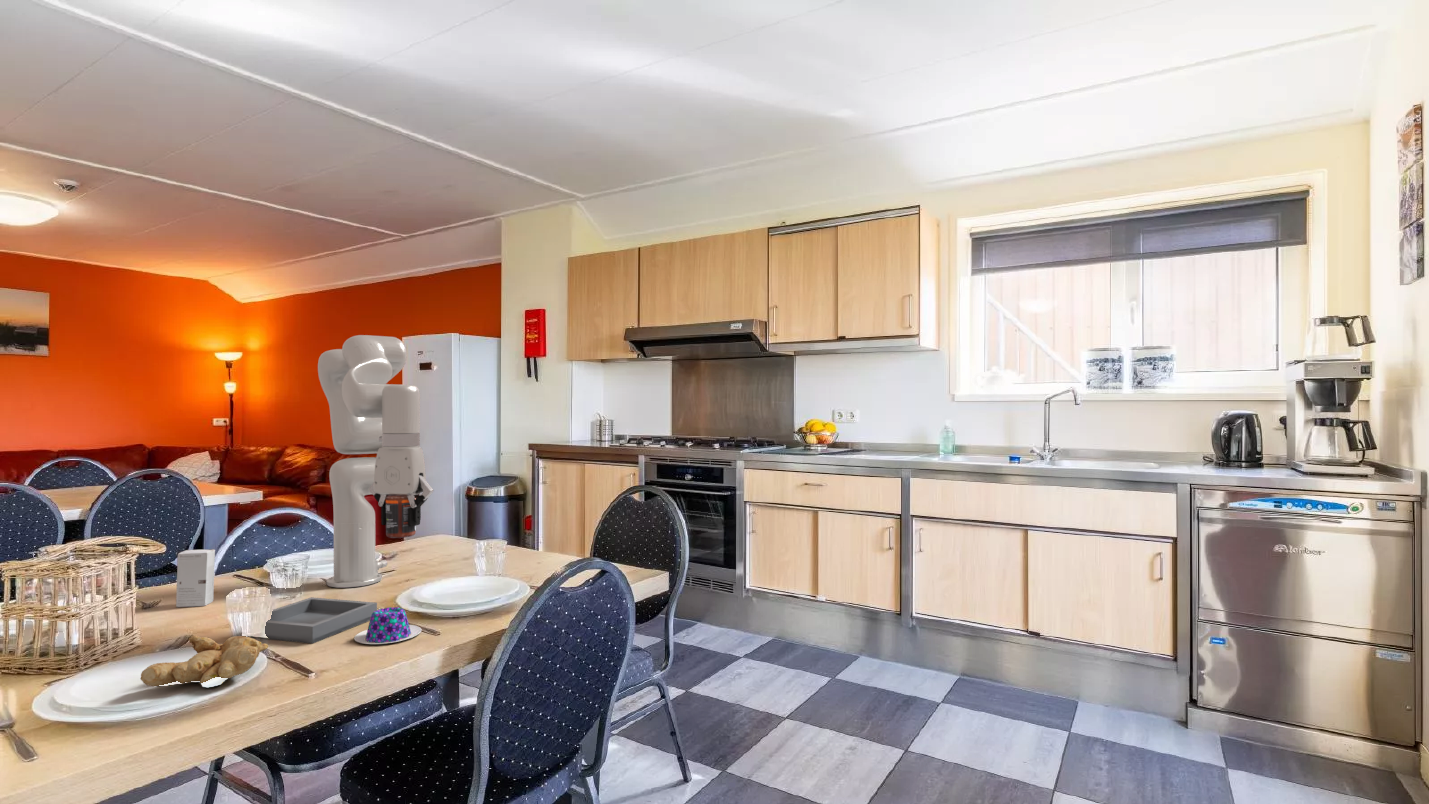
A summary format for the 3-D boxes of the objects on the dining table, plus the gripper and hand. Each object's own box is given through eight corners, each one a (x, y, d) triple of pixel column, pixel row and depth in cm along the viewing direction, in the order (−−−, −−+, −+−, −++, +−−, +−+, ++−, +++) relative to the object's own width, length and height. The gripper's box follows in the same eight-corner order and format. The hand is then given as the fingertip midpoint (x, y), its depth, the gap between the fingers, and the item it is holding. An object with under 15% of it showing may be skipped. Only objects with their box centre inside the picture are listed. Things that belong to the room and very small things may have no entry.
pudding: (364, 652, 131) (364, 623, 131) (346, 636, 140) (346, 610, 140) (430, 638, 139) (430, 611, 139) (409, 624, 148) (409, 599, 148)
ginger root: (295, 652, 127) (287, 611, 125) (238, 710, 112) (228, 665, 110) (208, 655, 127) (198, 614, 125) (138, 714, 112) (126, 668, 110)
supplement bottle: (421, 533, 158) (421, 482, 158) (407, 539, 152) (407, 485, 152) (395, 533, 158) (395, 482, 158) (380, 538, 152) (380, 485, 152)
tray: (311, 612, 156) (311, 597, 156) (376, 617, 152) (376, 602, 152) (241, 636, 140) (241, 619, 140) (312, 643, 135) (312, 626, 135)
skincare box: (175, 608, 160) (175, 553, 160) (185, 602, 164) (185, 549, 164) (206, 606, 161) (206, 552, 161) (215, 600, 165) (215, 548, 165)
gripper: (354, 442, 153) (354, 526, 153) (424, 443, 149) (424, 529, 149) (379, 440, 161) (379, 520, 161) (446, 441, 156) (446, 523, 156)
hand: (400, 524), depth 155 cm, fingers closed on supplement bottle, 6 cm apart
